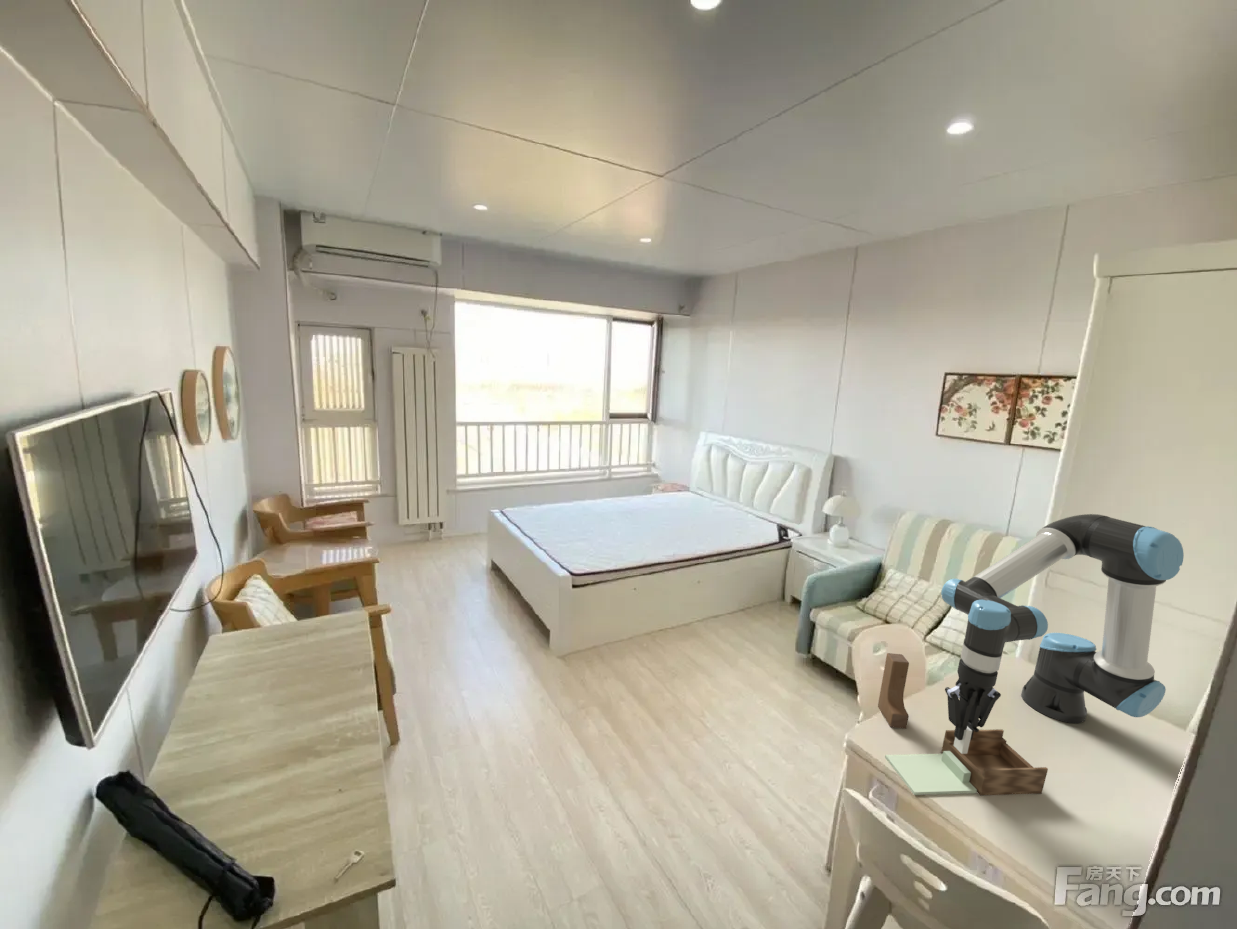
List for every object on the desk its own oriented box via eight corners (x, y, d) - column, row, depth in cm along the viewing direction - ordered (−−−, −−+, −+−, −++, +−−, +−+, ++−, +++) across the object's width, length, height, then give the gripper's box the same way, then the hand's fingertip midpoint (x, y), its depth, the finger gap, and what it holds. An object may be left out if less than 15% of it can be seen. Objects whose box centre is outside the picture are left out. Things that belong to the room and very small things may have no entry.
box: (997, 752, 132) (1002, 729, 130) (1041, 793, 119) (1048, 769, 118) (941, 753, 130) (945, 730, 129) (980, 795, 118) (985, 770, 116)
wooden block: (906, 729, 138) (917, 672, 135) (890, 727, 139) (900, 670, 135) (892, 708, 147) (902, 653, 144) (877, 706, 148) (886, 652, 144)
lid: (942, 757, 129) (944, 744, 129) (976, 794, 118) (979, 780, 118) (884, 759, 128) (886, 745, 127) (913, 796, 117) (916, 782, 116)
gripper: (991, 655, 122) (972, 737, 127) (942, 655, 121) (925, 738, 125) (1017, 674, 115) (997, 760, 119) (965, 674, 113) (946, 762, 118)
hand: (960, 749), depth 122 cm, fingers closed
